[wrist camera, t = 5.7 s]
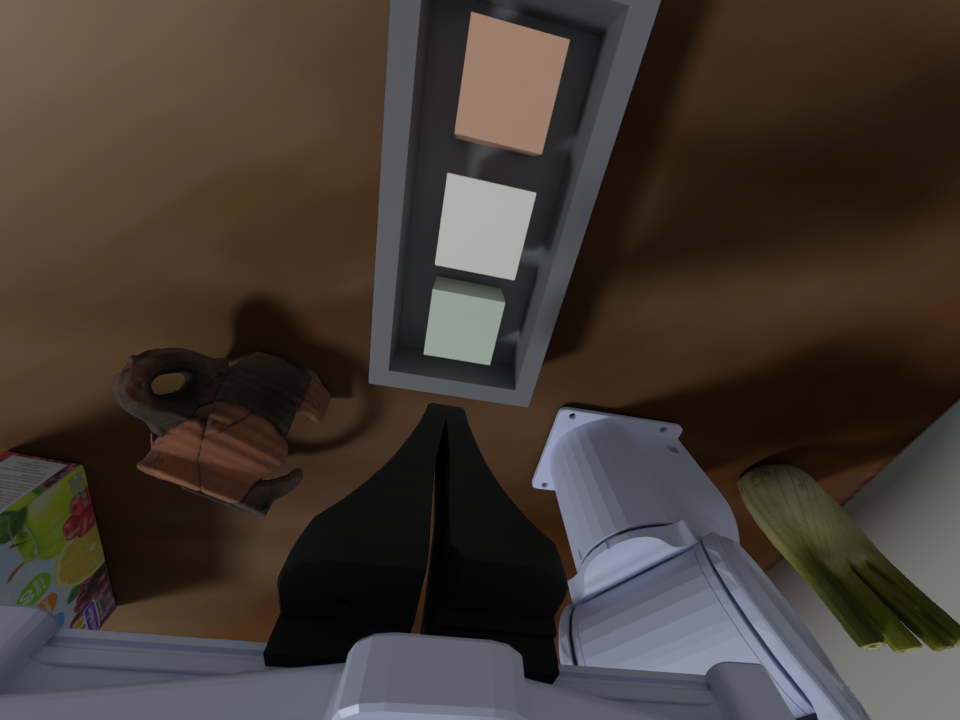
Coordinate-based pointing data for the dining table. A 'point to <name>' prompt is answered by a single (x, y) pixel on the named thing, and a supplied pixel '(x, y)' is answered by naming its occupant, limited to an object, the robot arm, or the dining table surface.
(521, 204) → the key mid
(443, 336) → the key
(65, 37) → the dining table surface
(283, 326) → the dining table surface
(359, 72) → the dining table surface
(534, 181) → the grey rectangular tray
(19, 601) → the snack box
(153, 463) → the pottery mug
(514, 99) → the key
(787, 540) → the fennel bulb
